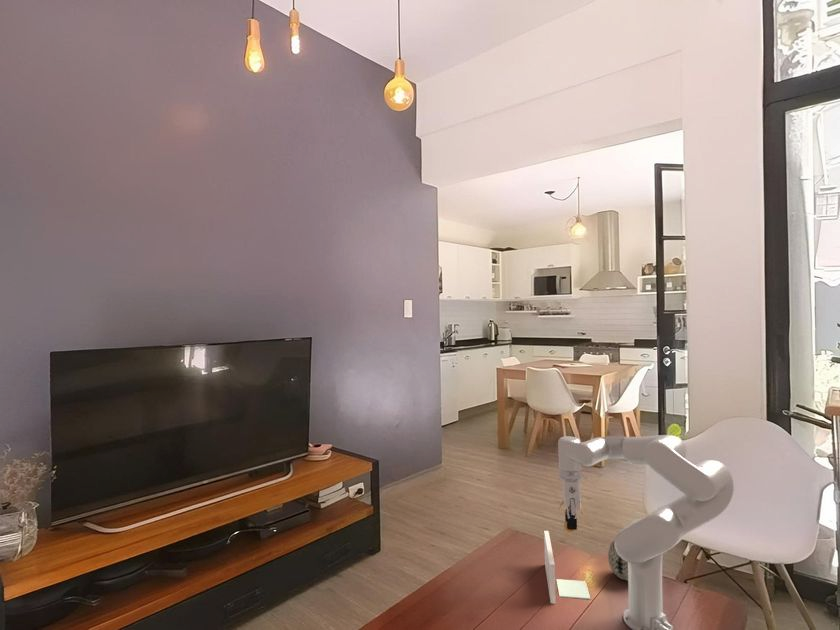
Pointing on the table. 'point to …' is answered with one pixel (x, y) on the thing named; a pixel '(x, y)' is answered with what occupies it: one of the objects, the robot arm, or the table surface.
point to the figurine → (566, 522)
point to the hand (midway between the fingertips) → (571, 525)
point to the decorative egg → (617, 563)
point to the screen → (549, 567)
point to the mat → (573, 589)
